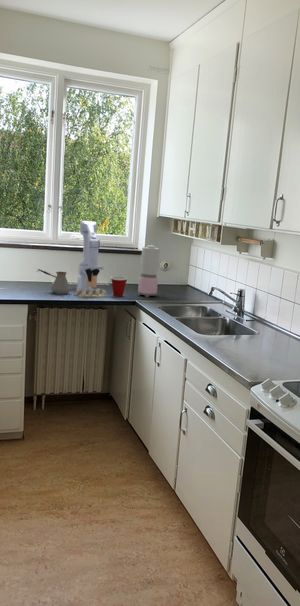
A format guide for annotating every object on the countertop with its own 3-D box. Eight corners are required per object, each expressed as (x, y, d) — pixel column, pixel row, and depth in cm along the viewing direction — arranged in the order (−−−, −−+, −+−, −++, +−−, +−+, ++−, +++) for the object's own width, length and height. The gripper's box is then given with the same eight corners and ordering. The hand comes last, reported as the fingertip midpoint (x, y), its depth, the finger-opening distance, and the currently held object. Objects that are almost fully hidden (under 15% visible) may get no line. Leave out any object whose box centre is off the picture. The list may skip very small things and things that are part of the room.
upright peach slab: (86, 285, 312) (86, 273, 311) (89, 285, 314) (90, 273, 313) (93, 287, 306) (93, 276, 305) (96, 287, 308) (97, 275, 306)
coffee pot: (65, 291, 319) (66, 267, 316) (73, 294, 310) (74, 270, 307) (32, 292, 307) (33, 267, 304) (40, 295, 298) (41, 270, 295)
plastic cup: (105, 295, 315) (107, 276, 313) (114, 293, 325) (116, 275, 322) (120, 298, 310) (122, 279, 308) (129, 296, 320) (131, 277, 318)
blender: (149, 298, 319) (153, 247, 313) (133, 294, 326) (137, 244, 319) (162, 295, 332) (167, 246, 326) (147, 292, 339) (151, 244, 332)
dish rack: (74, 294, 310) (74, 288, 309) (97, 293, 321) (98, 287, 320) (83, 298, 302) (83, 292, 301) (107, 296, 312) (107, 291, 311)
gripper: (86, 260, 299) (84, 282, 302) (106, 260, 308) (105, 282, 311) (80, 258, 305) (78, 280, 307) (100, 258, 314) (99, 280, 316)
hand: (91, 281), depth 309 cm, fingers closed on upright peach slab, 2 cm apart
